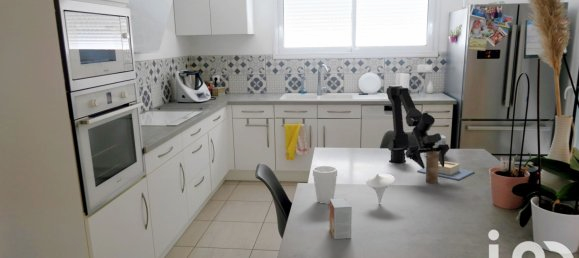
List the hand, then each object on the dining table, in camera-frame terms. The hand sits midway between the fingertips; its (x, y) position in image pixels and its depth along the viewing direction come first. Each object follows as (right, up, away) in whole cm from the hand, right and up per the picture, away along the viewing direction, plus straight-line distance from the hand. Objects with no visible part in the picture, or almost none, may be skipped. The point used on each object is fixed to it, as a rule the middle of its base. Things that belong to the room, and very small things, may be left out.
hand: (433, 167), depth 184 cm
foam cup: (-49, -12, -19) cm, 53 cm away
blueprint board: (+11, -4, +16) cm, 19 cm away
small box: (-46, -17, -48) cm, 69 cm away
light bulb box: (+16, +2, +47) cm, 50 cm away
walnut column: (0, -6, +3) cm, 7 cm away
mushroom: (-28, -12, -23) cm, 38 cm away
